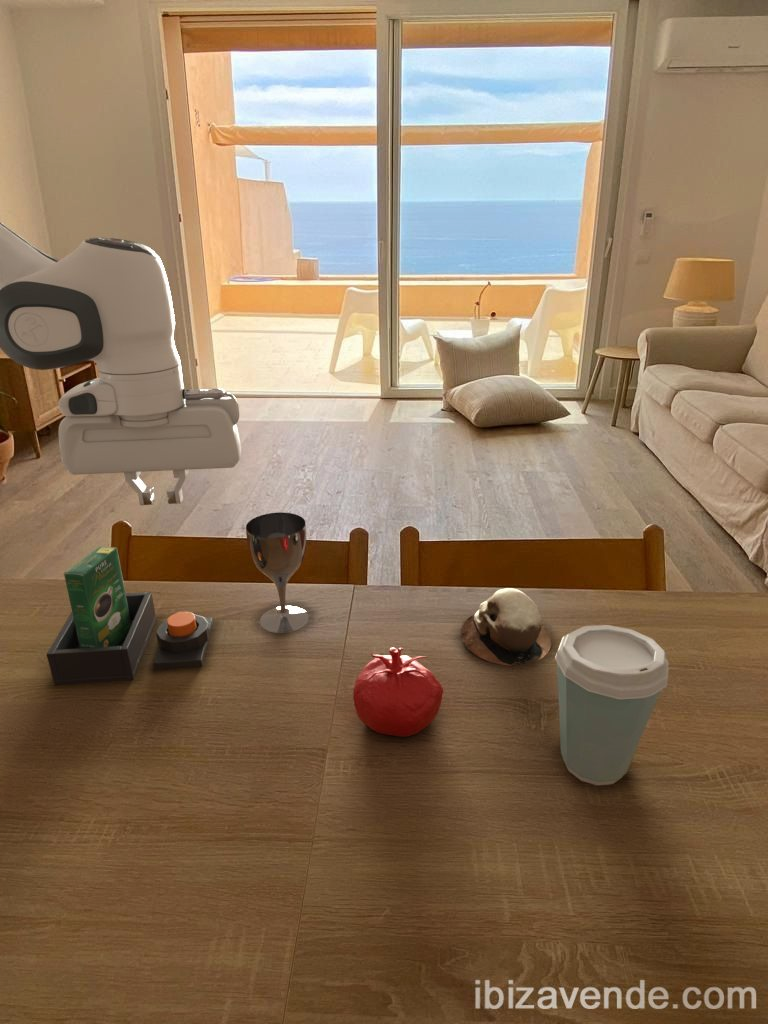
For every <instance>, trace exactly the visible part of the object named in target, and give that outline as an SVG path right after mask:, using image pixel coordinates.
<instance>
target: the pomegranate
mask: <svg viewBox="0 0 768 1024" xmlns="http://www.w3.org/2000/svg"><path fill="white" fill-rule="evenodd" d="M388 651H389V655H380V654H373V653H370V656H371V657H373V659H372V660H370V661H369V662H368V663H367V664H366V665H365V666H364V668H363V669H362V670H361V672H360V673H359V674H358V676H357V677H356V680H355V683H354V687H353V690H352V691H353V692H352V694H353V695H352V699H353V703H354V708H355V713H356V716H357V717H358V718H359V720H360V721H361V722H362V723H363V724H364V725H365V726H368V727H369V728H370V730H373V731H374V732H376V733H379V734H382V735H388V736H395V737H411V736H413V735H416V734H418V733H419V732H421V731H423V730H424V729H425V728H426V727H428V726H429V725H430V724H431V723H432V722H433V721H434V720H435V718H436V717H437V715H438V714H439V711H440V707H441V704H442V699H443V694H444V687H443V686H442V684H441V682H440V681H439V680H438V679H437V678H436V677H435V675H434V673H433V672H432V671H431V670H429V669H428V668H426V667H424V665H423V664H422V663H420V662H419V661H418V660H419V659H427V658H429V656H414V657H411V656H410V655H401V653H402V651H404V646H401V647H399V648H398V649H397V648H395V647H390V648H389V650H388Z"/></svg>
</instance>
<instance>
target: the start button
mask: <svg viewBox="0 0 768 1024" xmlns="http://www.w3.org/2000/svg"><path fill="white" fill-rule="evenodd" d="M194 615H195V614H194V613H193V612H191V611H178V612H176V613H173V614H171V615H170V616H169V617H168V618H167V619H166V620H167V625H168V631H169V634H170V635H171V636H174V637H181V636H186V635H189V634H192V633H193V632H195V631H196V628H197V626H196V620H195V616H194Z"/></svg>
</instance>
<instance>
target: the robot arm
mask: <svg viewBox="0 0 768 1024" xmlns="http://www.w3.org/2000/svg"><path fill="white" fill-rule="evenodd" d="M174 313H175V312H174V308H173V300H172V295H171V290H170V286H169V281H168V277H167V273H166V271H165V267H164V265H163V262H162V260H161V258H160V256H159V255H158V254H157V253H156V252H155V251H154V250H153V249H151V247H149V246H148V245H145V244H143V243H140V242H137V241H132V240H126V239H122V238H121V239H120V238H114V237H110V238H108V237H90V238H86V239H84V240H82V242H81V243H80V245H78V246H77V247H76V248H75V249H74V250H73V251H71V252H70V253H68V254H67V255H66V256H64V257H63V258H61V259H58V258H56V257H54V256H51V255H49V254H47V253H45V252H43V251H42V250H40V249H39V248H37V247H36V246H35V245H33V244H32V243H30V242H28V241H27V239H25V238H23V237H22V236H21V235H19V234H17V232H15V231H13V229H11V228H9V227H8V226H6V225H5V224H4V223H3V222H1V221H0V350H1V351H2V352H3V353H4V354H5V355H6V356H7V357H8V358H9V359H10V360H12V361H13V362H15V363H16V364H18V365H21V366H22V367H25V368H29V369H32V370H36V371H37V370H39V371H46V370H58V369H62V368H66V367H68V366H72V365H76V364H79V363H83V362H87V361H92V362H94V363H95V364H96V368H97V373H98V377H96V378H92V379H90V380H88V381H84V382H82V383H79V384H77V385H75V386H74V387H72V388H71V389H69V390H67V391H66V392H65V393H64V394H63V395H62V396H61V397H60V398H59V399H58V403H57V404H58V408H59V411H60V413H61V414H62V415H63V416H64V418H62V420H61V421H60V422H59V425H58V444H59V445H58V447H59V453H60V459H61V463H62V466H63V468H64V469H65V470H66V471H67V472H68V473H69V474H71V475H74V476H76V475H97V474H101V475H102V474H119V473H120V474H121V473H124V479H125V482H126V483H127V484H128V485H129V486H130V488H132V490H133V491H134V492H135V493H136V494H137V497H138V498H137V499H138V503H139V505H140V506H151V505H154V503H155V501H156V496H155V494H154V493H155V489H154V486H147V485H146V484H145V483H144V481H143V480H142V479H141V478H140V475H141V474H142V472H143V473H144V472H145V473H146V472H163V471H164V472H167V471H168V472H169V471H172V475H173V478H174V479H177V481H176V484H175V485H169V486H168V487H167V490H166V497H167V498H168V499H167V503H168V505H174V504H175V505H177V504H178V505H179V504H182V503H183V500H184V493H183V485H184V483H185V481H186V478H187V476H188V474H189V472H190V470H211V469H213V470H214V469H232V468H234V467H236V465H237V464H238V463H239V461H240V460H241V457H242V452H243V451H242V443H241V440H240V439H241V438H240V433H239V430H238V426H237V424H238V422H239V420H240V407H239V402H238V400H237V398H236V397H235V396H234V395H233V394H231V393H230V392H227V391H225V390H224V389H223V388H211V389H201V388H200V389H199V388H195V389H193V388H192V389H190V388H189V389H185V385H184V379H183V371H182V364H181V359H180V356H179V354H178V351H177V348H176V345H175V340H174V334H175V328H176V321H175V320H176V319H175V314H174Z"/></svg>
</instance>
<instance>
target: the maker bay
mask: <svg viewBox="0 0 768 1024" xmlns="http://www.w3.org/2000/svg"><path fill="white" fill-rule="evenodd" d="M125 594H126V599H127V604H128V610H129V615H130V620H131V627H130V630H129V632H128V634H127V636H126V638H125V639H124V640H123V641H122V642H121V643H120V644H119V645H118V646H113V647H97V648H81V649H80V645H79V641H78V636H77V631H76V627H75V622H74V618H73V613H72V611H71V612H70V614H69V616H68V617H67V619H66V621H65V622H64V624H63V625H62V627H61V630H59V632H58V634H57V636H56V637H55V639H54V641H53V642H52V644H51V646H50V648H49V649H48V651H47V652H46V657H47V661H48V666H49V669H50V673H51V677H52V681H53V684H54V686H66V685H80V684H82V685H83V684H95V683H96V684H97V683H108V682H109V683H113V682H126V681H127V682H128V681H134V680H135V678H136V675H137V672H138V670H139V668H140V664H141V661H142V659H143V656H144V654H145V652H146V649H147V646H148V643H149V641H150V638H151V635H152V633H153V630H154V628H155V625H156V623H157V616H156V610H155V609H156V608H155V605H154V598H153V593H152V591H146V592H145V591H144V592H143V591H142V592H127V593H126V592H125Z"/></svg>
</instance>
